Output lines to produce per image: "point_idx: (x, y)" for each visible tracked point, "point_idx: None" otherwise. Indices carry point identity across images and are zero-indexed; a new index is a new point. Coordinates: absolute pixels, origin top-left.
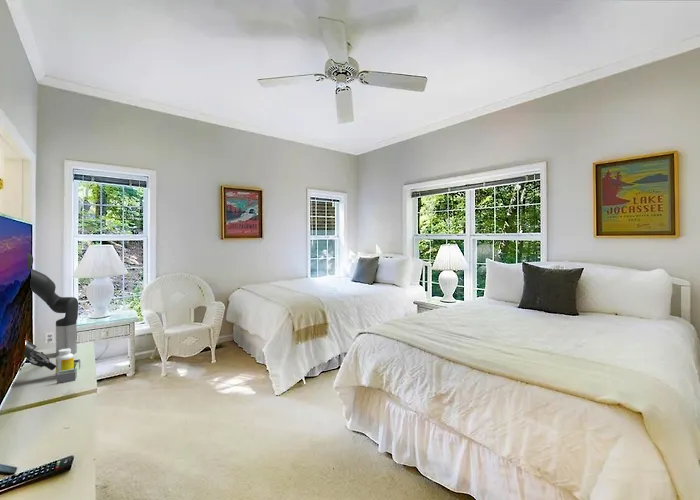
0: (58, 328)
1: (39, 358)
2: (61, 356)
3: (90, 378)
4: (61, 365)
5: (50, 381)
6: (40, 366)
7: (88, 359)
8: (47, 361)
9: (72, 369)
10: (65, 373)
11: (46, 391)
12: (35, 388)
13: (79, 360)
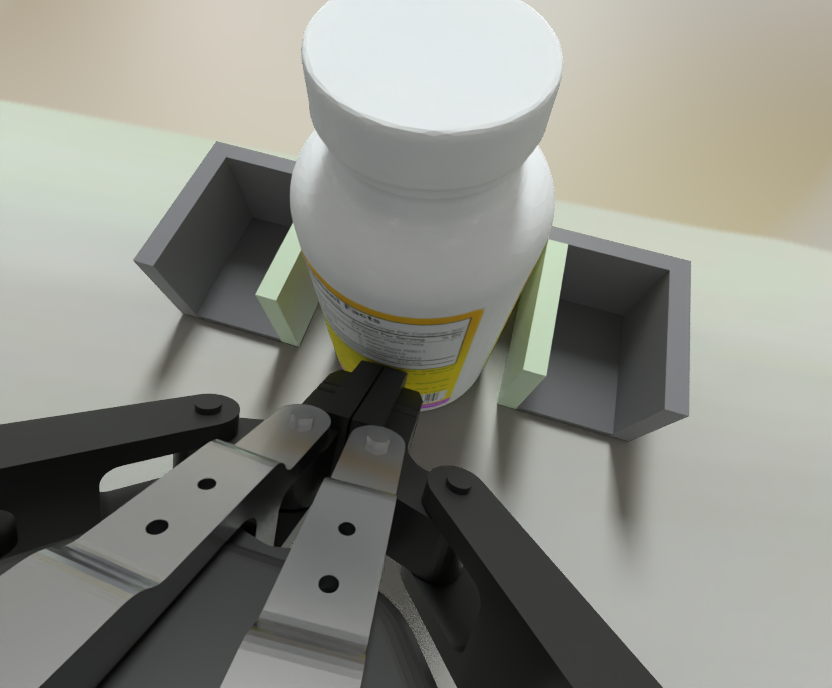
0: None
1: (408, 637)
2: (513, 211)
3: (659, 224)
4: (509, 312)
5: (503, 481)
6: (473, 592)
7: (83, 126)
8: (380, 447)
9: (563, 260)
10: (676, 336)
11: (828, 565)
12: (652, 654)
13: (261, 154)
